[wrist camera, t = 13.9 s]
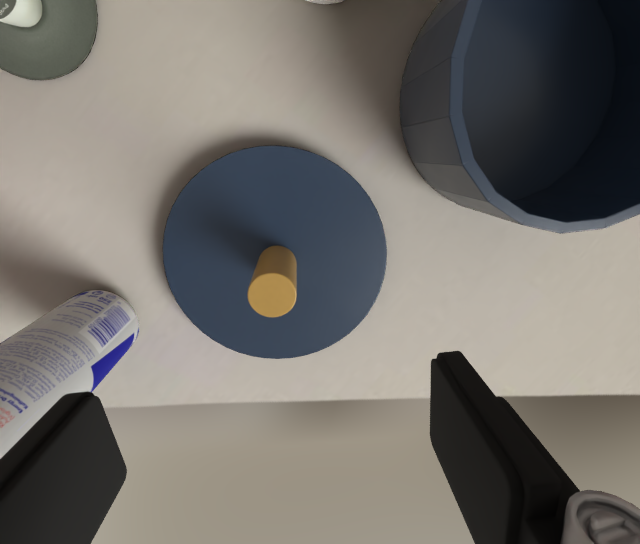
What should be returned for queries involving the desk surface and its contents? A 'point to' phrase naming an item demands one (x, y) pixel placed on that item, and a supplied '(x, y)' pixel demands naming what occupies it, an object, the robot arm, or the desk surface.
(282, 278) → the lid
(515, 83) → the tin
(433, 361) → the robot arm
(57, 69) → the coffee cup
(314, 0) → the pill bottle
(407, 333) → the desk surface
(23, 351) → the beverage can
